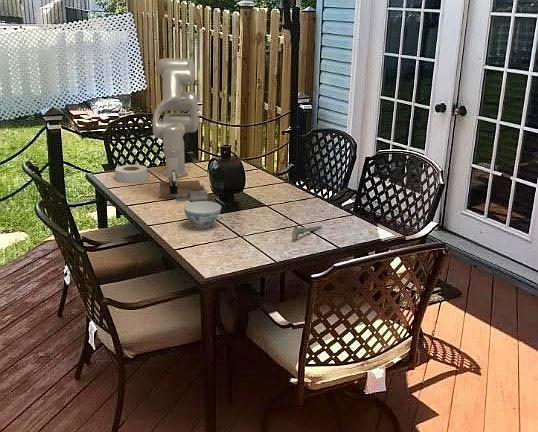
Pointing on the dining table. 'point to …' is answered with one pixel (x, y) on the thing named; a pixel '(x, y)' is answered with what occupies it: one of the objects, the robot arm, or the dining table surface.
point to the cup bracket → (193, 195)
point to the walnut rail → (180, 187)
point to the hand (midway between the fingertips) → (173, 191)
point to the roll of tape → (131, 173)
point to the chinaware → (202, 213)
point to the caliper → (302, 231)
